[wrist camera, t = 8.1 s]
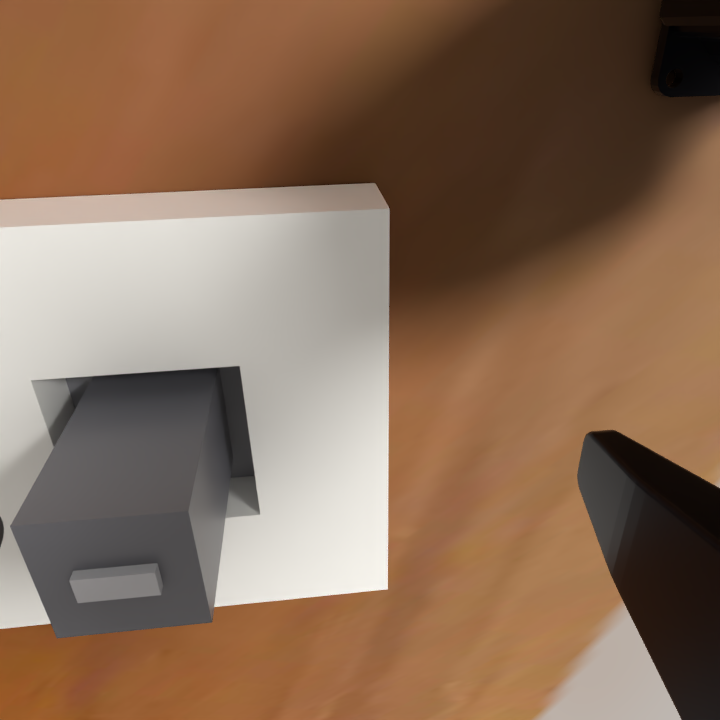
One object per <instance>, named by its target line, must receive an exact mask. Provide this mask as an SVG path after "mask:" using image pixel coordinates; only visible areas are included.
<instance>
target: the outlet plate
mask: <svg viewBox="0 0 720 720" xmlns="http://www.w3.org/2000/svg"><path fill="white" fill-rule="evenodd" d="M389 224H390V208H389V207H388V205H387V203H386V201H385V200H384V198H383V196H382V194H381V192H380V191H379V189H378V187H377V185H376V183H362V184H340V185H318V186H296V187H273V188H251V189H229V190H206V191H184V192H162V193H140V194H117V195H95V196H73V197H51V198H28V199H6V200H0V517H1V519H2V521H3V526H4V536H3V540H2V544H1V547H0V629H3V628H13V627H23V626H33V625H43V624H51V623H50V620H49V618H48V616H47V613H46V611H45V608H44V606H43V604H42V601H41V599H40V597H39V594H38V592H37V589H36V587H35V585H34V582H33V580H32V578H31V575H30V573H29V570H28V568H27V566H26V563H25V561H24V559H23V556H22V554H21V551H20V549H19V547H18V544H17V542H16V540H15V537H14V535H13V533H12V530H11V528H10V525H11V524H12V522H13V520H14V518H15V516H16V515H17V513H18V511H19V509H20V507H21V506H22V504H23V502H24V500H25V498H26V497H27V495H28V493H29V491H30V489H31V488H32V486H33V484H34V482H35V480H36V479H37V477H38V475H39V473H40V472H41V470H42V468H43V466H44V464H45V463H46V461H47V459H48V457H49V455H50V454H51V452H52V450H53V448H54V446H55V445H56V443H57V441H58V439H59V437H60V436H61V434H62V432H63V430H64V428H65V427H66V425H67V423H68V421H69V419H70V418H71V416H72V414H73V412H74V410H75V409H76V407H77V405H78V403H79V401H80V400H81V398H82V396H83V394H84V392H85V391H86V389H87V387H88V385H89V383H90V382H91V380H92V378H93V376H102V375H116V374H131V373H145V372H159V371H174V370H188V369H203V368H217V367H219V369H220V375H221V381H222V388H223V394H224V401H225V407H226V414H227V420H228V427H229V433H230V440H231V446H232V453H233V463H232V471H231V479H230V486H229V494H228V502H227V510H226V518H225V526H224V534H223V542H222V549H221V557H220V565H219V573H218V581H217V589H216V597H215V604H214V607H219V606H228V605H238V604H248V603H258V602H268V601H277V600H287V599H297V598H307V597H317V596H326V595H336V594H346V593H356V592H365V591H375V590H385V589H388V426H389Z"/></svg>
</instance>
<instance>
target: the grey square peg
mask: <svg viewBox="0 0 720 720" xmlns="http://www.w3.org/2000/svg"><path fill="white" fill-rule="evenodd" d="M232 463H233V453H232V446H231V440H230V433H229V427H228V420H227V414H226V407H225V401H224V394H223V388H222V381H221V375H220V369H219V367H217V368H203V369H188V370H174V371H159V372H145V373H131V374H116V375H102V376H93V378H92V380H91V382H90V383H89V385H88V387H87V389H86V391H85V392H84V394H83V396H82V398H81V400H80V401H79V403H78V405H77V407H76V409H75V410H74V412H73V414H72V416H71V418H70V419H69V421H68V423H67V425H66V427H65V428H64V430H63V432H62V434H61V436H60V437H59V439H58V441H57V443H56V445H55V446H54V448H53V450H52V452H51V454H50V455H49V457H48V459H47V461H46V463H45V464H44V466H43V468H42V470H41V472H40V473H39V475H38V477H37V479H36V480H35V482H34V484H33V486H32V488H31V489H30V491H29V493H28V495H27V497H26V498H25V500H24V502H23V504H22V506H21V507H20V509H19V511H18V513H17V515H16V516H15V518H14V520H13V522H12V524H11V525H10V528H11V530H12V533H13V535H14V537H15V540H16V542H17V544H18V547H19V549H20V551H21V554H22V556H23V559H24V561H25V563H26V566H27V568H28V570H29V573H30V575H31V578H32V580H33V582H34V585H35V587H36V589H37V592H38V594H39V597H40V599H41V601H42V604H43V606H44V608H45V611H46V613H47V616H48V618H49V620H50V623H51V625H52V627H53V630H54V632H55V634H56V637H57V638H64V637H74V636H83V635H93V634H103V633H113V632H123V631H132V630H142V629H152V628H162V627H172V626H181V625H191V624H201V623H211V622H212V620H213V612H214V604H215V597H216V589H217V581H218V573H219V565H220V557H221V549H222V542H223V534H224V526H225V518H226V510H227V502H228V494H229V486H230V479H231V471H232Z"/></svg>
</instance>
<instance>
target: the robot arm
mask: <svg viewBox="0 0 720 720" xmlns="http://www.w3.org/2000/svg"><path fill="white" fill-rule="evenodd" d="M660 18H661V20H662V26H661V31H660V36H659V41H658V46H657V51H656V56H655V60H654V65H653V70H652V75H651V87H652V89H653V91H654V92H655V93H656V94H657V95H662V96H668V97H686V96H715V95H720V0H662V4H661V9H660ZM672 70H674V71H675V79H674V81H673V83H671V84H670V85H669V86H668V85H667V84H666V78H667V76H668V74H669V73H670V72H671V71H672ZM577 478H578V485H579V489H580V492H581V494H582V497H583V500H584V503H585V506H586V508H587V511H588V514H589V517H590V519H591V522H592V525H593V528H594V530H595V533H596V536H597V539H598V542H599V544H600V547H601V550H602V553H603V555H604V558H605V561H606V563H607V566H608V569H609V571H610V574H611V576H612V578H613V581H614V583H615V585H616V587H617V589H618V591H619V593H620V595H621V597H622V599H623V601H624V604H625V606H626V608H627V610H628V612H629V614H630V616H631V618H632V620H633V622H634V624H635V626H636V628H637V630H638V632H639V634H640V636H641V638H642V640H643V642H644V644H645V646H646V648H647V650H648V652H649V654H650V656H651V658H652V660H653V662H654V664H655V666H656V668H657V670H658V672H659V675H660V676H661V679H662V681H663V682H664V685H665V687H666V689H667V691H668V693H669V695H670V697H671V699H672V701H673V703H674V705H675V707H676V709H677V711H678V713H679V715H680V717H681V719H682V720H720V488H719V487H717V486H715V485H713V484H711V483H710V482H708V481H706V480H704V479H702V478H701V477H699V476H697V475H695V474H693V473H692V472H690V471H688V470H686V469H684V468H683V467H681V466H679V465H677V464H675V463H673V462H672V461H670V460H668V459H666V458H664V457H663V456H661V455H659V454H657V453H655V452H654V451H652V450H650V449H648V448H646V447H645V446H643V445H641V444H639V443H637V442H636V441H634V440H632V439H630V438H628V437H627V436H625V435H623V434H621V433H619V432H617V431H615V430H603V431H592V432H589V433H588V434H586V436H585V438H584V442H583V447H582V452H581V457H580V462H579V468H578V474H577ZM3 536H4V526H3V521H2V519H1V517H0V547H1V544H2V540H3Z"/></svg>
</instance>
